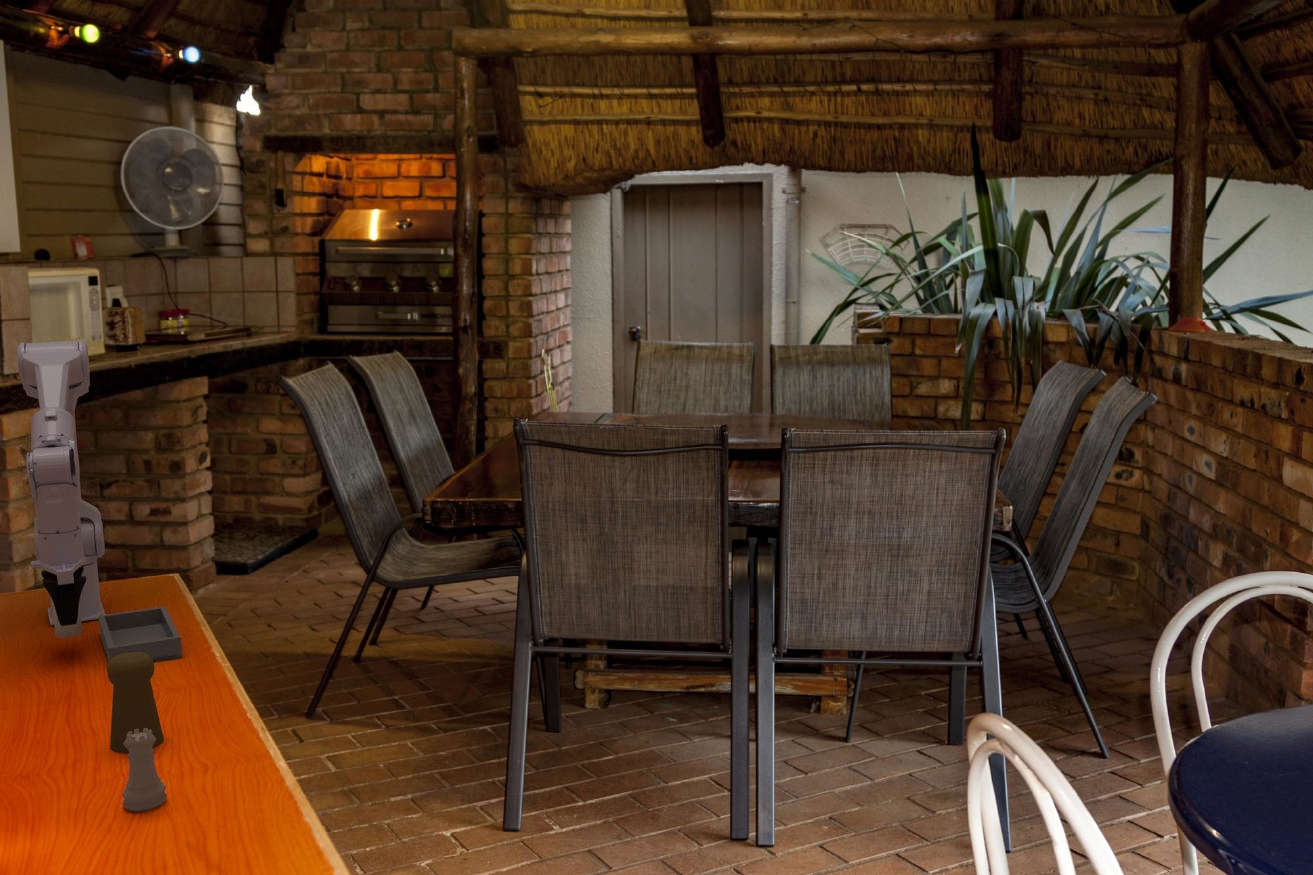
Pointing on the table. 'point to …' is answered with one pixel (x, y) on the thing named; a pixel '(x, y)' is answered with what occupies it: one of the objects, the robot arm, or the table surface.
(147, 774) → the rook chess piece
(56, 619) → the cell
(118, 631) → the trough
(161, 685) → the table surface
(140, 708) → the cork
